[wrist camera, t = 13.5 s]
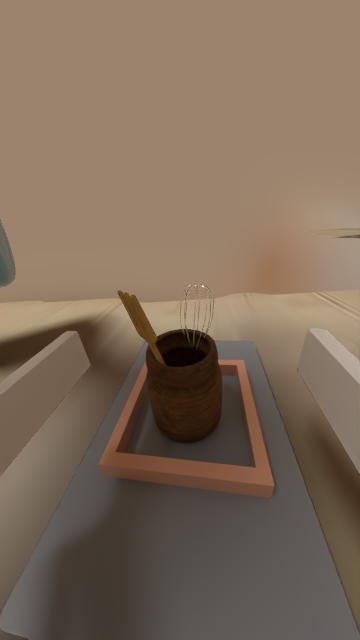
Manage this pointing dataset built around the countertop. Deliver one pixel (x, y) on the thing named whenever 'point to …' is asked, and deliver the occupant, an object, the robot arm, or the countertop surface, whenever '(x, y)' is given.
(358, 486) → the countertop surface
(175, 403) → the utensil holder
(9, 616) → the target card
